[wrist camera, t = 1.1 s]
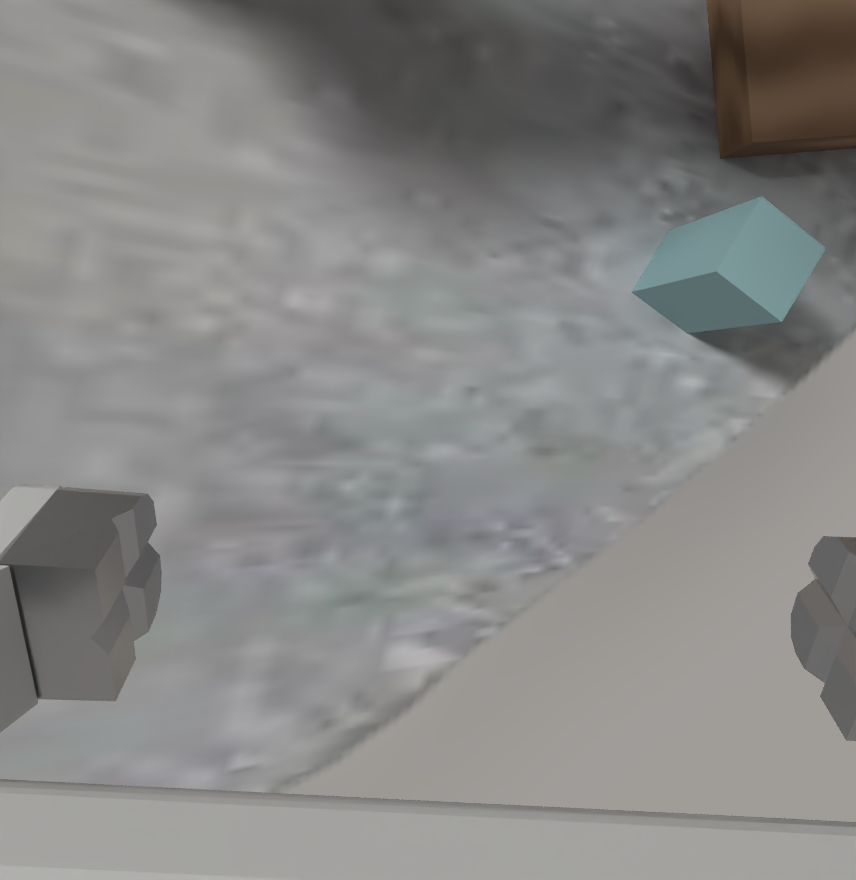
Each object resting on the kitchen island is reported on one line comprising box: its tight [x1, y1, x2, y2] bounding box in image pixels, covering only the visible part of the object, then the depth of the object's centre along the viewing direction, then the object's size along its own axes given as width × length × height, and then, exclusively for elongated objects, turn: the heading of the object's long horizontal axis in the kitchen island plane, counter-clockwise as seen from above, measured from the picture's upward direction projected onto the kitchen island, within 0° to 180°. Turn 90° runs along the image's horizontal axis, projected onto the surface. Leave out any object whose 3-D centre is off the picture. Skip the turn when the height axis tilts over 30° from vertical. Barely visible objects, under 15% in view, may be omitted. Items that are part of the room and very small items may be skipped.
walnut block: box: [707, 0, 856, 158], centre depth 53 cm, size 12×12×4 cm
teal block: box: [632, 196, 826, 333], centre depth 49 cm, size 5×5×10 cm
